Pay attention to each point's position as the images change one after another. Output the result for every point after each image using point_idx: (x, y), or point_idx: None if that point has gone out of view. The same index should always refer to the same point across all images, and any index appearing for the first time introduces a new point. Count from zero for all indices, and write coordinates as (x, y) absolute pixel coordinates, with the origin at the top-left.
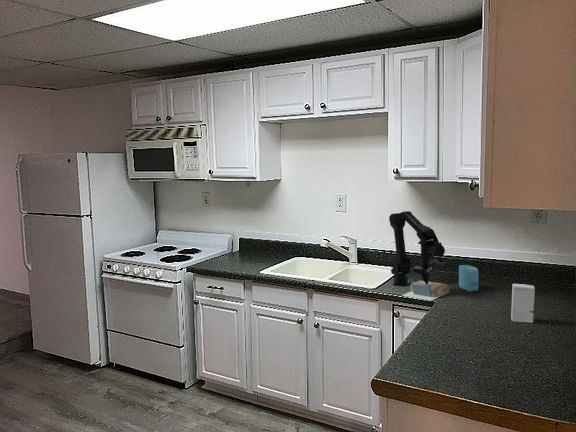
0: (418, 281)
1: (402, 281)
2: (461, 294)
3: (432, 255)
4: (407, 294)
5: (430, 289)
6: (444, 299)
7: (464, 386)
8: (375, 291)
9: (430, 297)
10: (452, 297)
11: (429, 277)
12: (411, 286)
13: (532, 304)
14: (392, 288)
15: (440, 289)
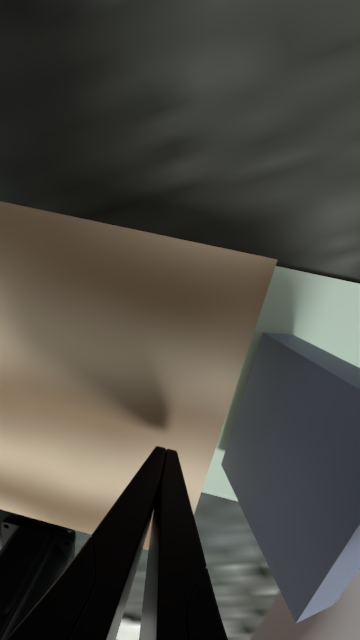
0: (32, 516)
1: (39, 576)
2: (53, 61)
3: None
4: None
5: (337, 369)
6: (334, 188)
7: None
8: (247, 624)
9: (322, 329)
10: (221, 125)
11: (114, 546)
12: None
13: None
14: (142, 569)
15: (245, 254)
